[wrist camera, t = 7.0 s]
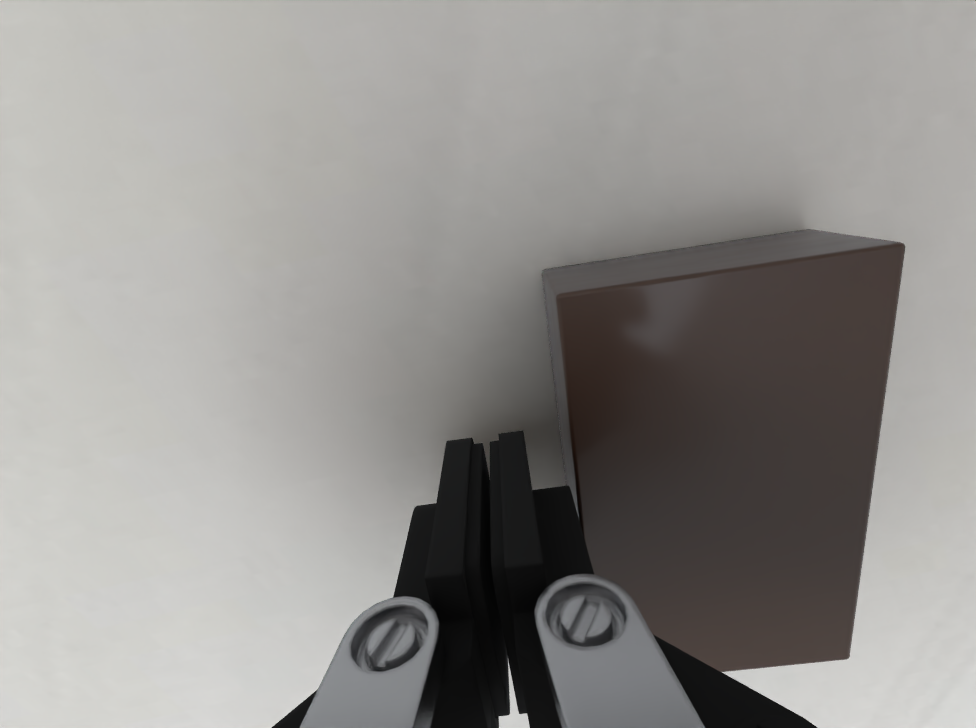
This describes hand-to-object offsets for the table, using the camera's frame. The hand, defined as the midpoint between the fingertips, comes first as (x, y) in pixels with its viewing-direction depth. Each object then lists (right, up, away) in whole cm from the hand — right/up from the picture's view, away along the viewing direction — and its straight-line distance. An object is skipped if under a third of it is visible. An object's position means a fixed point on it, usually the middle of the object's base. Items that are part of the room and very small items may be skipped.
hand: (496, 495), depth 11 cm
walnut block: (+4, +1, +1) cm, 5 cm away
